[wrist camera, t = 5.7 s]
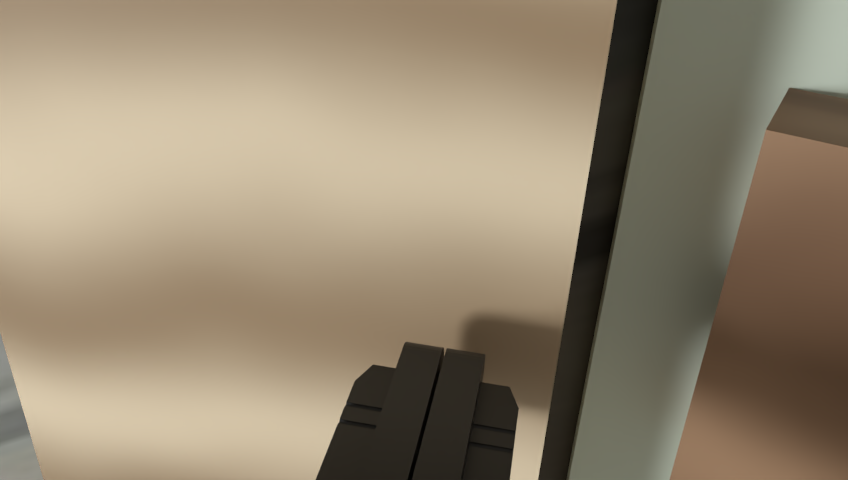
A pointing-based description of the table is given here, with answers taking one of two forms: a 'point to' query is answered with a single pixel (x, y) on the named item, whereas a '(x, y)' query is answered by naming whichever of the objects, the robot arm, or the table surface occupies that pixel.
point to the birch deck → (281, 216)
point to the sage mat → (689, 211)
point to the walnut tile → (781, 314)
